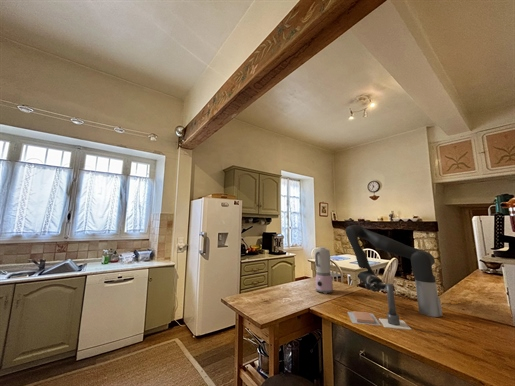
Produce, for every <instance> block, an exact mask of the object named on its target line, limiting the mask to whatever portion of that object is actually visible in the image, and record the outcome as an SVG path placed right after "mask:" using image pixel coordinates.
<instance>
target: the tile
mask: <svg viewBox="0 0 515 386" xmlns="http://www.w3.org/2000/svg"><path fill="white" fill-rule="evenodd" d="M352 312H353V315H354V317H355V319H356V321H357V322H359V323H370V324H375V321H374V319H373V318H372V316H371V315H370V312H368V311H367V312H366V311H354V310H353V311H352ZM359 323H358V324H359ZM370 324H369V325H370Z"/></svg>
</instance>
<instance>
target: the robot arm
mask: <svg viewBox="0 0 515 386" xmlns="http://www.w3.org/2000/svg"><path fill="white" fill-rule="evenodd" d="M345 234H346V237H347V239H348V242H349V243H350V246H351V248H352V251H353V252H354V255H355V259H356V263H357V265H358V267H359V268H360V269H366V270H363V271H360V272H359V273H358V278H359V280H360V281H361V282H362V283H363V284H364V287H365V289H366V290H368V291H369V290H371V291H372V292H375V293H376V292H380V291H385V292H387V289H386V284H387V283H384V282H383V280H381V278H379V277H378V276H377V275H376V274H375V271H374V270H373V268H372V267H371V265H370V262H369V259H368V257H367V254H366V252H365V251H364V248H362V246H361V245H360V242H359V238H360V239H363V240H366V241H368V242H369V243H370V244H371V245H372V246H373V247H375V248H376V249H378V250H381V251H383V252H385V253H388V254H392V255H396V256H400V257H403V258H406V259H408V260H410V263H411V264H410V265H411V271H412V274H413V276H414V282H415V291H416V299H417V307H418V309H417V310H418V312H419V313H420V314H422V315H424V316H427V317H434V318H439V317H443V310H442V304H441V297H440V296H438V295H439V294H438V288H437V287H438V286H437V280H436V276H435V274H434V273H433V268H432V266H434V264H435V261H436V260H435V258H434V255H432V254H431V253H430V252H428V251H427V250H426V251H425V250H422V249H418V248H416V247H412V246H409V245H406V244H405V243H403V242H400V241H397V240H394V239H393V238H390V237H388V236H386V235H382V234H379V233H377V232H374V231H372V230H369V229H367V228H365V227H363V226H361V225H359V224H352V225H349V226H348V225H347V227H346V228H345ZM393 289H394V292H395V291H396V290H395V286H394V285H393Z"/></svg>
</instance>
